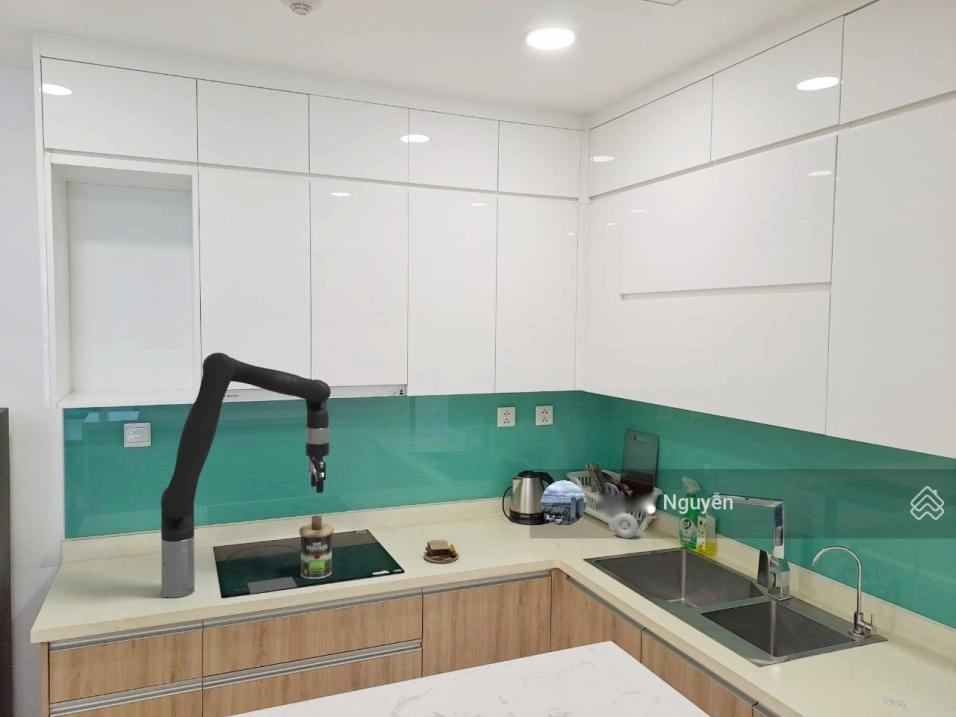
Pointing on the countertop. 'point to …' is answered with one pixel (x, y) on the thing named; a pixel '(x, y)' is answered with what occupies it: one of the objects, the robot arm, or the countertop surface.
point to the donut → (625, 518)
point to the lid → (316, 528)
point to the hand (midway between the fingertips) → (317, 489)
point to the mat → (271, 585)
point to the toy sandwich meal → (440, 552)
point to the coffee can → (316, 557)
